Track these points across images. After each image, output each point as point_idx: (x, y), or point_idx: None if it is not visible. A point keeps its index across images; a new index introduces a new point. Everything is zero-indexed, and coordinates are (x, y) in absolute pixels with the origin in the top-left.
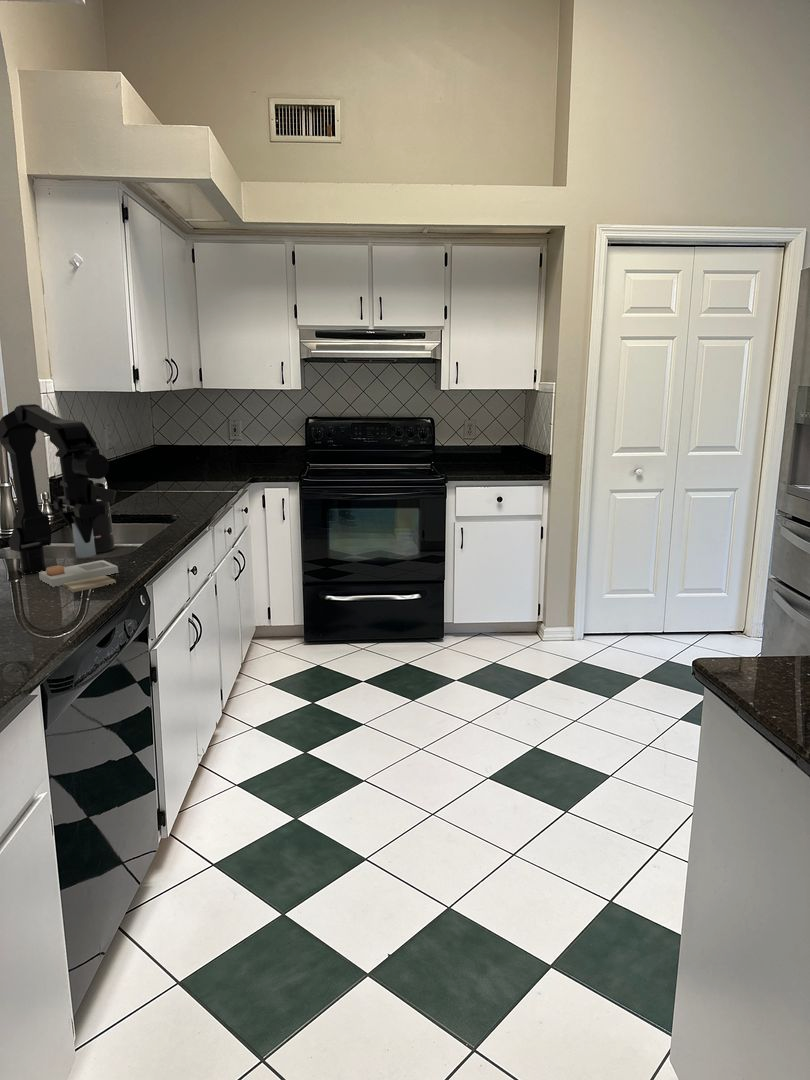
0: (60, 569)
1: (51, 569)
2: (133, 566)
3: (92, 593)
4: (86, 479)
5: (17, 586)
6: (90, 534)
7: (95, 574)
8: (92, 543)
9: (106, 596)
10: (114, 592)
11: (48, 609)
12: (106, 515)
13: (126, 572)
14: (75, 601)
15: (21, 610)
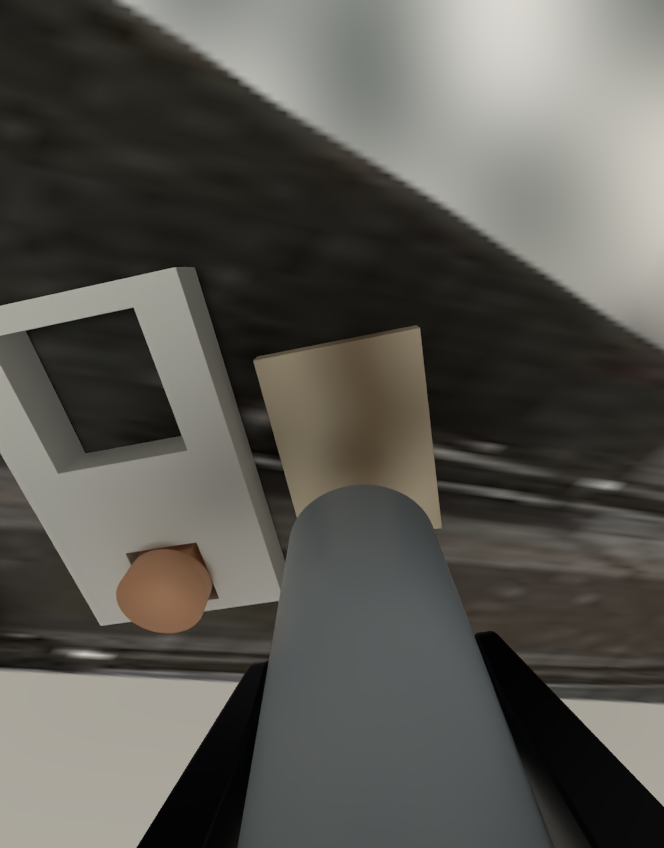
0: (196, 579)
1: (196, 617)
2: (16, 122)
3: (521, 456)
4: None
5: (187, 659)
6: (578, 724)
7: (229, 406)
8: (443, 582)
9: (633, 412)
10: (595, 366)
11: (614, 612)
12: None
13: (177, 211)
14: (591, 529)
15: (545, 671)
